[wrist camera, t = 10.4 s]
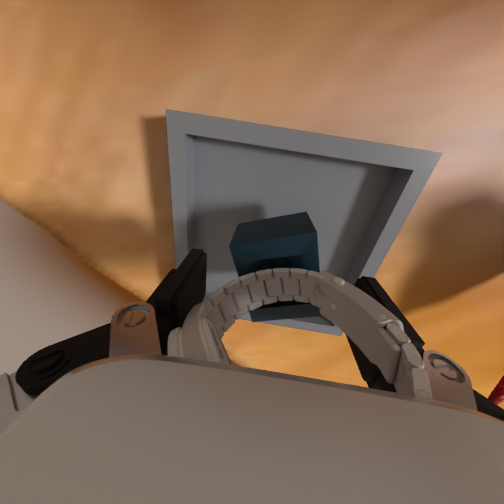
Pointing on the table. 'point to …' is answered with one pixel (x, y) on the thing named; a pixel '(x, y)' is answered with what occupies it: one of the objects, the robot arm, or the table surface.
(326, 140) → the tray
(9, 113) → the table surface
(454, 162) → the table surface
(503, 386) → the decorative bird figurine
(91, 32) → the table surface
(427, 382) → the watch
